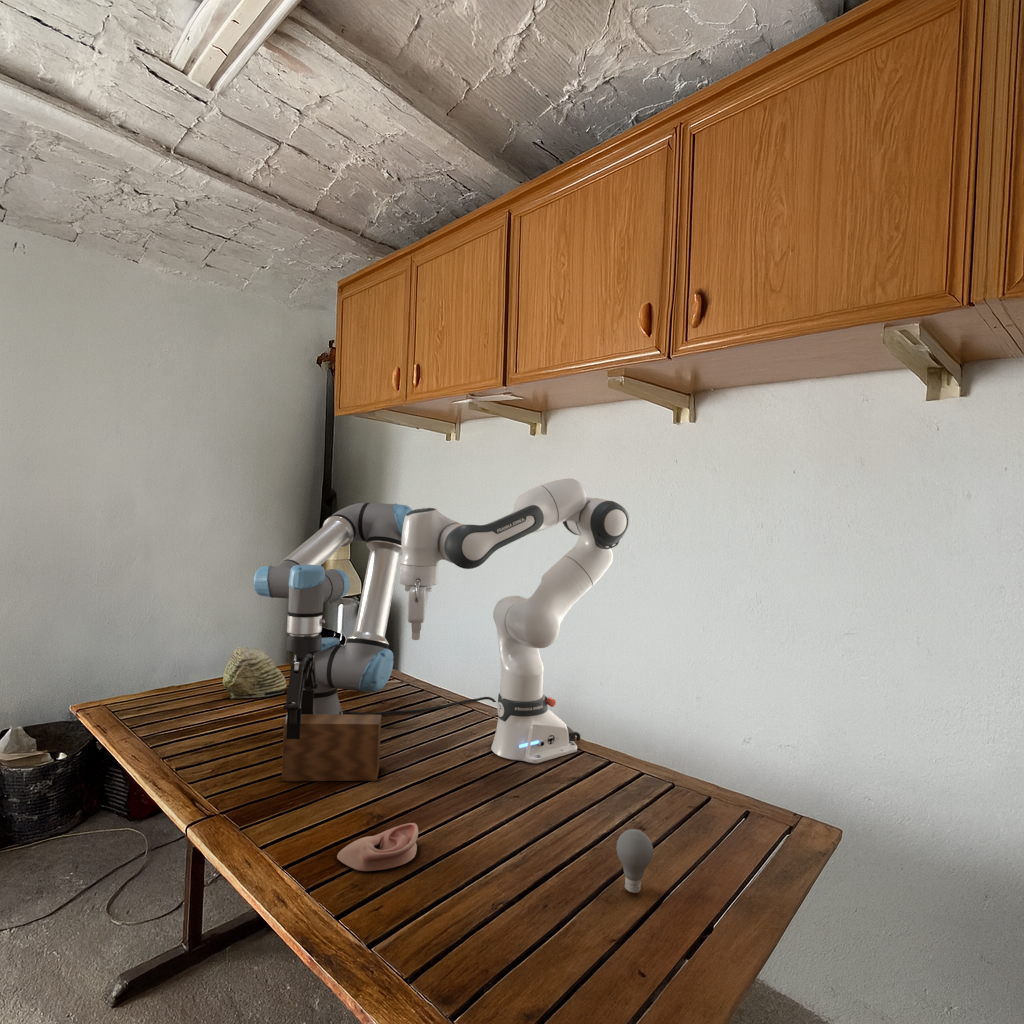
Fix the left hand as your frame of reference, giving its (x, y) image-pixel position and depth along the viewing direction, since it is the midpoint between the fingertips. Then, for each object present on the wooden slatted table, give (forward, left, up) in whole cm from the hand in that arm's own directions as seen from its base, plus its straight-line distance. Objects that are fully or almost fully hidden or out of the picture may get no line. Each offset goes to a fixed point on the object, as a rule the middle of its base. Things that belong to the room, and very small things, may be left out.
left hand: (300, 727), depth 143 cm
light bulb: (-14, +77, -11) cm, 79 cm away
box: (-5, +5, -11) cm, 13 cm away
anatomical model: (+8, +38, -11) cm, 40 cm away
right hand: (-21, +15, +21) cm, 33 cm away
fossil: (-23, -60, -11) cm, 65 cm away
